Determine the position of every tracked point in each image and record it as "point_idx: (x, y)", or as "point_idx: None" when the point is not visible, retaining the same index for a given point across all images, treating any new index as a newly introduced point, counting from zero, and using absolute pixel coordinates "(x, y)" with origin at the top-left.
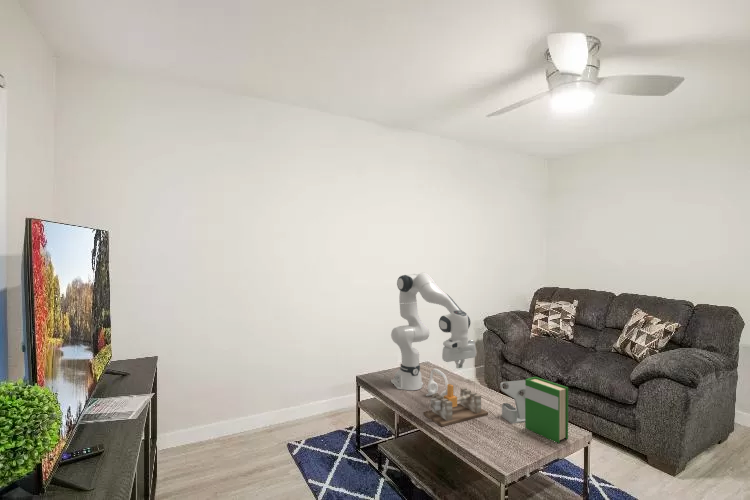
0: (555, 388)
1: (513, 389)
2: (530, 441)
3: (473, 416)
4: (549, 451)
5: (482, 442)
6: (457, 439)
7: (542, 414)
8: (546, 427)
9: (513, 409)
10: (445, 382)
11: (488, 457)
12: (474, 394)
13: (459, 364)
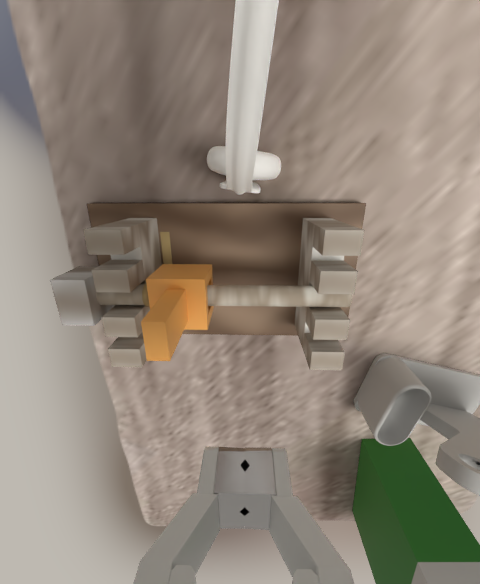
0: None
1: None
2: (302, 482)
3: (266, 334)
4: None
5: (182, 440)
6: (124, 403)
7: (384, 556)
8: (366, 521)
9: (408, 416)
10: (229, 170)
11: (150, 483)
12: (328, 337)
13: (241, 514)
